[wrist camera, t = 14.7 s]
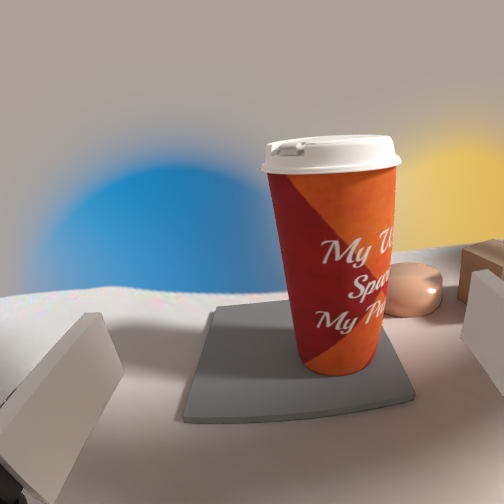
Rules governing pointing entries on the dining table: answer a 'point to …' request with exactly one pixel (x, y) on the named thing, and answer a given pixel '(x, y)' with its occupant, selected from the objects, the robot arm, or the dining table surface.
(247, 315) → the mat
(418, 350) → the dining table surface
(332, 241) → the paper cup
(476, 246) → the walnut block
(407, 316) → the tan rounded disc
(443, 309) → the dining table surface
